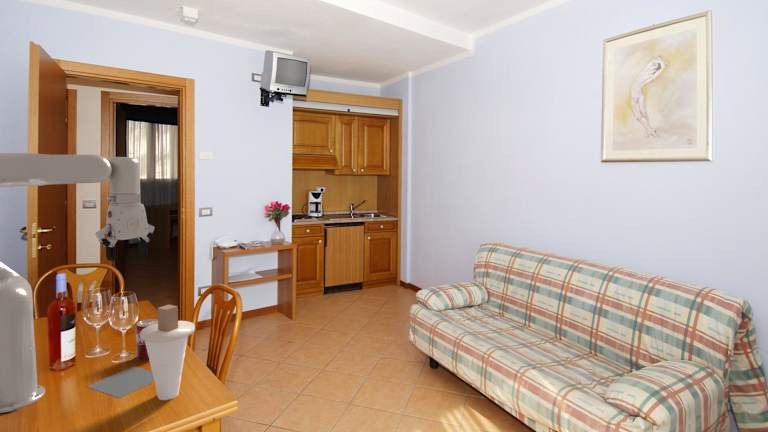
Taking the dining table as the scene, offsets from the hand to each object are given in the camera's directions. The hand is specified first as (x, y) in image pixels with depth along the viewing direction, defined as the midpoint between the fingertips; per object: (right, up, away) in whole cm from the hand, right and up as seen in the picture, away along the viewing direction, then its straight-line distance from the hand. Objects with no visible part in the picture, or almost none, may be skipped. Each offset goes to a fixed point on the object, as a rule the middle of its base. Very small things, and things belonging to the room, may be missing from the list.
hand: (127, 257), depth 124 cm
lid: (+18, -19, -12) cm, 29 cm away
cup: (+17, -37, -10) cm, 42 cm away
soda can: (-1, -34, +13) cm, 37 cm away
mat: (+2, -36, -3) cm, 36 cm away
